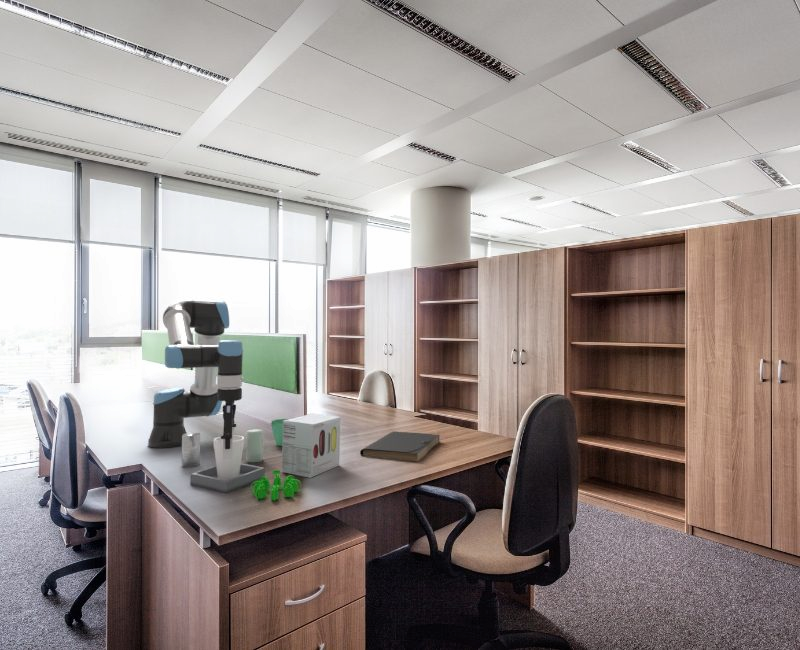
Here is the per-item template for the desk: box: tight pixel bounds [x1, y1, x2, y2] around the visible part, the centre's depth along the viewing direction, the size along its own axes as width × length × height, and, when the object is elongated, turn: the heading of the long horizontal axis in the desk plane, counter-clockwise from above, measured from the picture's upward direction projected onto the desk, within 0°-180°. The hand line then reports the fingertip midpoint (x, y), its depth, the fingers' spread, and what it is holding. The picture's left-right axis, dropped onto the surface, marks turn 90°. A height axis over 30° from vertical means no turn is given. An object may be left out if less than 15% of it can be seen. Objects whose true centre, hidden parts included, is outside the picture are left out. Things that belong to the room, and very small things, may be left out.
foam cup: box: [213, 434, 245, 480], centre depth 149 cm, size 10×9×13 cm
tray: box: [189, 462, 266, 494], centre depth 149 cm, size 16×16×4 cm
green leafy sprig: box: [249, 469, 302, 502], centre depth 139 cm, size 15×15×7 cm
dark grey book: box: [359, 431, 441, 463], centre depth 193 cm, size 33×4×24 cm
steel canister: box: [181, 432, 201, 468], centre depth 166 cm, size 6×6×11 cm
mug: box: [270, 418, 289, 447], centre depth 197 cm, size 15×10×10 cm
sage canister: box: [245, 428, 264, 464], centre depth 173 cm, size 6×6×11 cm
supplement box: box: [281, 413, 341, 479], centre depth 163 cm, size 17×13×18 cm
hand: (228, 453), depth 149 cm, fingers open, 13 cm apart
